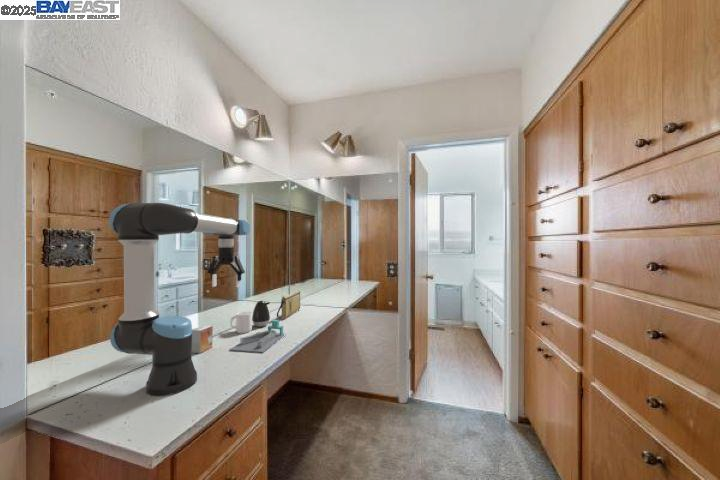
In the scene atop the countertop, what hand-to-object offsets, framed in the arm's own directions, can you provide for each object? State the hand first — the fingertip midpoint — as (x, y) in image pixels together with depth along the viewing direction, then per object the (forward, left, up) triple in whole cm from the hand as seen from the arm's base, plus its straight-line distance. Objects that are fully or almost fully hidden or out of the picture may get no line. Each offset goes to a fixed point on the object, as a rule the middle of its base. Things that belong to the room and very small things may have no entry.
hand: (226, 286), depth 150 cm
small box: (-18, 0, -27) cm, 33 cm away
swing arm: (-3, -19, -26) cm, 32 cm away
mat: (-4, -22, -27) cm, 35 cm away
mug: (+11, -2, -27) cm, 30 cm away
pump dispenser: (+23, -8, -27) cm, 37 cm away
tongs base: (-4, -25, -26) cm, 37 cm away
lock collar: (+7, -25, -26) cm, 37 cm away
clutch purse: (+51, -13, -27) cm, 60 cm away
